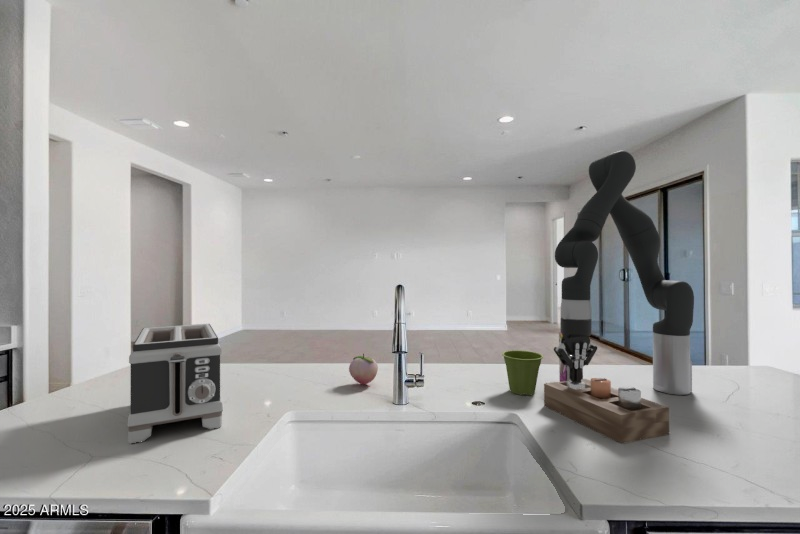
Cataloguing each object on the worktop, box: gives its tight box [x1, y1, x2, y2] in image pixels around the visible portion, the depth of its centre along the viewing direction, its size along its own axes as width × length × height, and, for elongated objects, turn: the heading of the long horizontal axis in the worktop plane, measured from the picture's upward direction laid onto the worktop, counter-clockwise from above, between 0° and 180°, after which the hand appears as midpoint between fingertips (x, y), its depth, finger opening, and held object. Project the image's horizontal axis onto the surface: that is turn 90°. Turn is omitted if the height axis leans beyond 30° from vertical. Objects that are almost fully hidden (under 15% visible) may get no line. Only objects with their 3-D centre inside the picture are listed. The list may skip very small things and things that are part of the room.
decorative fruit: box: [348, 353, 379, 386], centre depth 124 cm, size 9×8×10 cm
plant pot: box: [501, 349, 544, 396], centre depth 117 cm, size 12×12×11 cm
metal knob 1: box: [567, 381, 585, 390], centre depth 103 cm, size 4×4×4 cm
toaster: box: [126, 323, 223, 444], centre depth 97 cm, size 18×34×21 cm, turn 30°
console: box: [543, 378, 670, 444], centre depth 96 cm, size 14×24×6 cm, turn 19°
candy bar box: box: [558, 331, 584, 382], centre depth 121 cm, size 11×5×16 cm, turn 168°
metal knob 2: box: [617, 386, 642, 409], centre depth 88 cm, size 4×4×4 cm
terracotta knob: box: [590, 377, 612, 398], centre depth 96 cm, size 4×4×4 cm
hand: (575, 381), depth 103 cm, fingers closed
